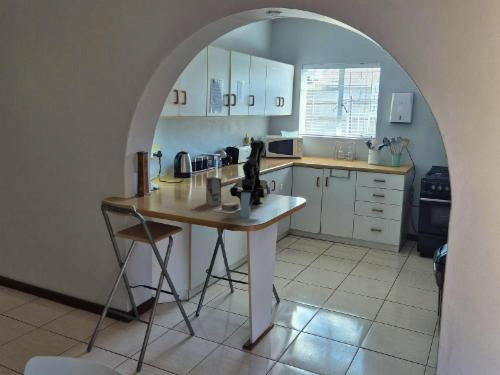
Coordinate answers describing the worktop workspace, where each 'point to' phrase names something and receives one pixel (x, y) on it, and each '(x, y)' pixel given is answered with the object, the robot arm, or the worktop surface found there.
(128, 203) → the worktop surface
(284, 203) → the worktop surface
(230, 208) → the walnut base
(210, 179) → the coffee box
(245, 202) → the pillar
